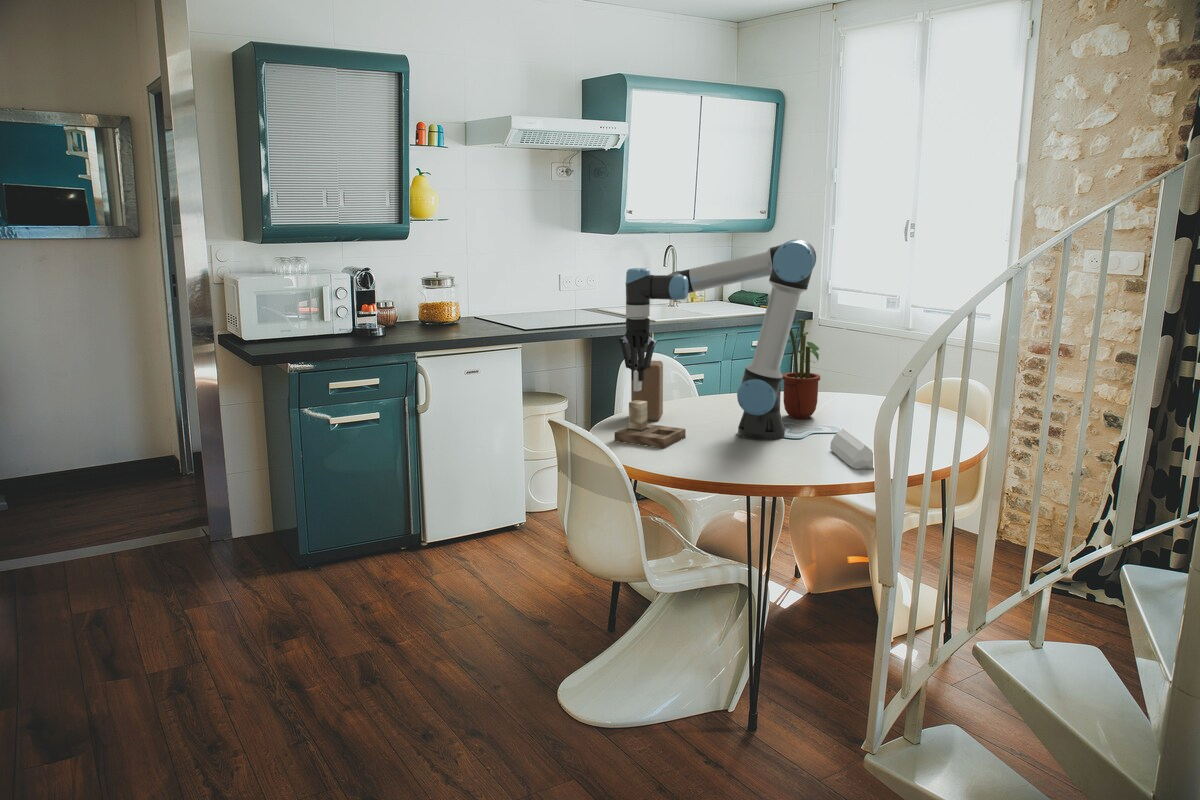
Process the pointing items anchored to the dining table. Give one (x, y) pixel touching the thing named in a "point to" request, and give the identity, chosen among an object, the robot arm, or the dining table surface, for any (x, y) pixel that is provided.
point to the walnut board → (651, 436)
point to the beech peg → (638, 415)
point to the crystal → (852, 450)
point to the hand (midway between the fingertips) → (637, 390)
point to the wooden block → (651, 390)
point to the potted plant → (801, 380)
